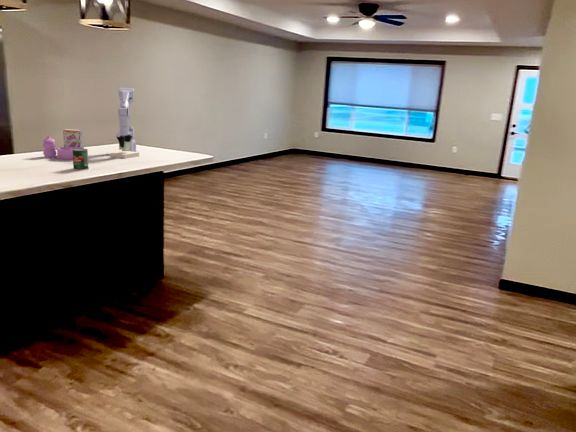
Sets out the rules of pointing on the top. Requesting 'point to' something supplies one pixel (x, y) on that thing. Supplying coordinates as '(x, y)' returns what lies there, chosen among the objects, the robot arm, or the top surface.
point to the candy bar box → (73, 138)
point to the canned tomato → (80, 159)
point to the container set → (62, 152)
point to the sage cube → (125, 146)
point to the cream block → (124, 154)
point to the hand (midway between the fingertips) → (124, 147)
